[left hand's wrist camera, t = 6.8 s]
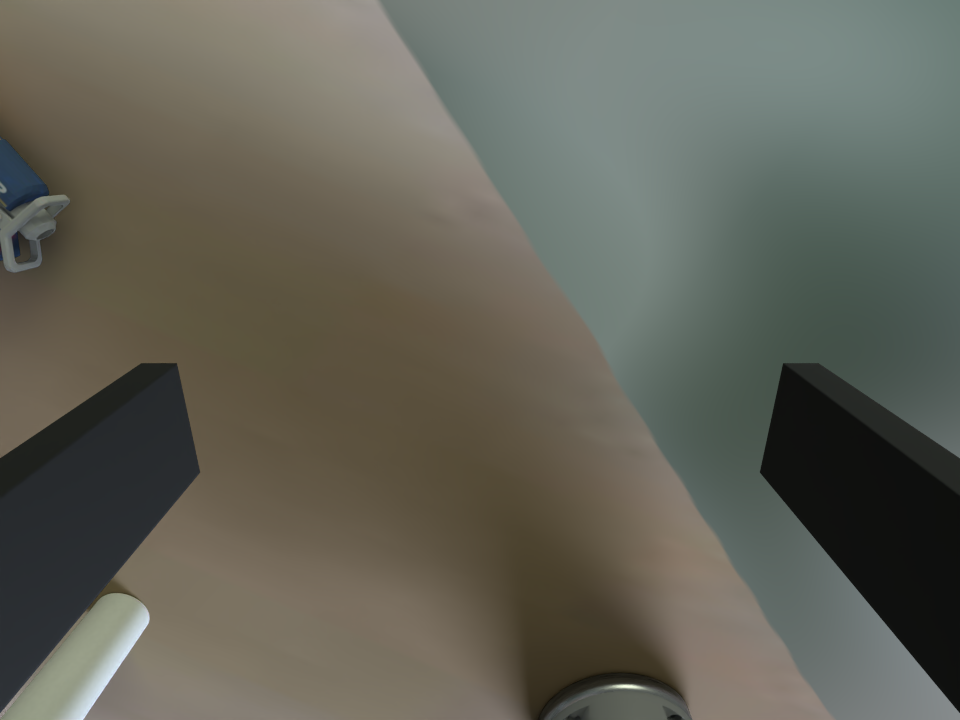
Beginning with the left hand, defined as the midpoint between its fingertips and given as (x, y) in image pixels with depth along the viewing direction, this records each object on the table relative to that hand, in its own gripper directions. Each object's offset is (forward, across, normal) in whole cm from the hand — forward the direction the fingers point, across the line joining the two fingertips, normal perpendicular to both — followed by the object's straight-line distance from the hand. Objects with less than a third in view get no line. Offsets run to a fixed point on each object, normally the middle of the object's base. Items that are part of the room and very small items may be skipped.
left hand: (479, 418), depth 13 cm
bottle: (+28, +32, +34) cm, 55 cm away
